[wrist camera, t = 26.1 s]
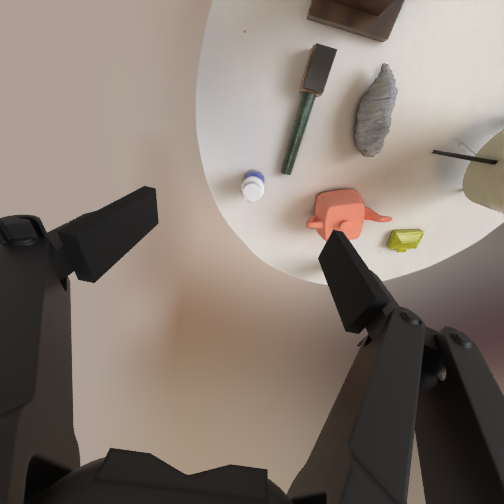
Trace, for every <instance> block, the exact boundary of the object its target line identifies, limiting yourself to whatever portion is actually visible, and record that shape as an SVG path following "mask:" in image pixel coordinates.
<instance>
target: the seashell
mask: <svg viewBox="0 0 504 504" xmlns="http://www.w3.org/2000/svg"><path fill="white" fill-rule="evenodd" d="M397 93H398V90H397V88H396V87H395V79H394V75H393V74H392V71H391V70H390V68H389V65H388V64H385V63H384V64H382V66H381V72H380V73H379V74H378V77H377V78H376V79H375V80H374V82H373V84H372V85H371V86H370V89H369V91H368V92H367V93H366V94H365V95H364V97H363V99H362V101H361V102H360V106H359V111H358V113H357V119H358V121H357V125H356V133H355V134H354V136H355V139H356V143H357V145H356V146H357V147H358V149H360V151H361V154H362V155H363V156H367V157H373V156H374V155H375V154H377V153H379V152H380V150H381V148H382V147H383V141H384V138H385V137H386V135H387V134H388V133H389V127H390V125H391V113H392V110H393V107H394V106H395V99H396V94H397Z"/></svg>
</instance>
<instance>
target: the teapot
mask: <svg viewBox="0 0 504 504" xmlns="http://www.w3.org/2000/svg"><path fill="white" fill-rule="evenodd" d="M364 219H365V220H373V221H377V222H388V221H391V220H392V218H391V217H386V216H381V215H379V214H377V213H376V212H374V211H373V210H372V209H370V208H368V207H365V206H364V202H363V199H362V197H361V195H360V194H359V193H358V192H357V191H356V190H354V189H344V190H335V191H329V192H324V193H321V194H319V195H318V197H317V200H316V205H315V215H314V216H313V217H311V218H310V219H309V220H308V221H307V224H306V226H307V227H308V228H316V230H317V232H318V234H319V235H320V236H321V237H322V238H323V239H324V240H326V241H327V240H328V238H329V237H330V235H331V233H332V231H333V230H338V231H342V232H344V234H345V235H346V237H347V238H348V240H352V239H357V238H358V237H359V235H360V233H361V229H362V225H363V221H364Z"/></svg>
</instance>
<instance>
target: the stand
mask: <svg viewBox="0 0 504 504" xmlns="http://www.w3.org/2000/svg"><path fill="white" fill-rule="evenodd" d="M403 3H404V0H312V1H311V5H310V9H309V13H308V17H307V19H310V20H313V21H316V22H320V23H323V24H326V25H329V26H333V27H336V28H339V29H342V30H346V31H349V32H352V33H355V34H359V35H362V36H365V37H369V38H372V39H375V40H378V41H382V42H384V41H386V40H387V39H388V38H389V35H390V33H391V31H392V28H393V26H394V24H395V21H396V19H397V17H398V14H399V12H400V10H401V7H402V5H403Z"/></svg>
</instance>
